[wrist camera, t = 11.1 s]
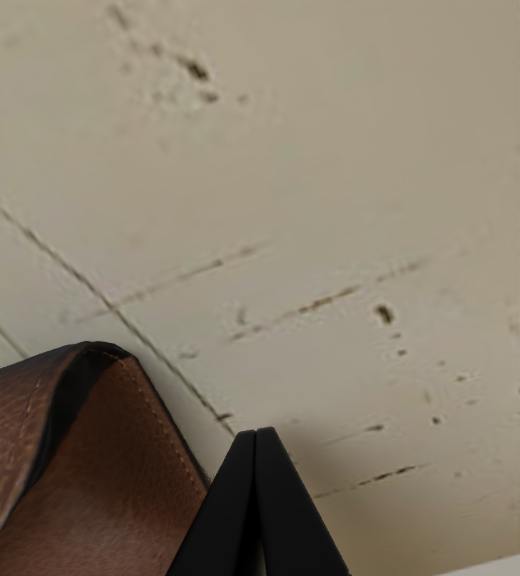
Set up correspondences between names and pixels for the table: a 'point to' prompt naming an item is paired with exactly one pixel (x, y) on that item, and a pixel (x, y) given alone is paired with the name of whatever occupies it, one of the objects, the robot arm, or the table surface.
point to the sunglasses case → (90, 467)
